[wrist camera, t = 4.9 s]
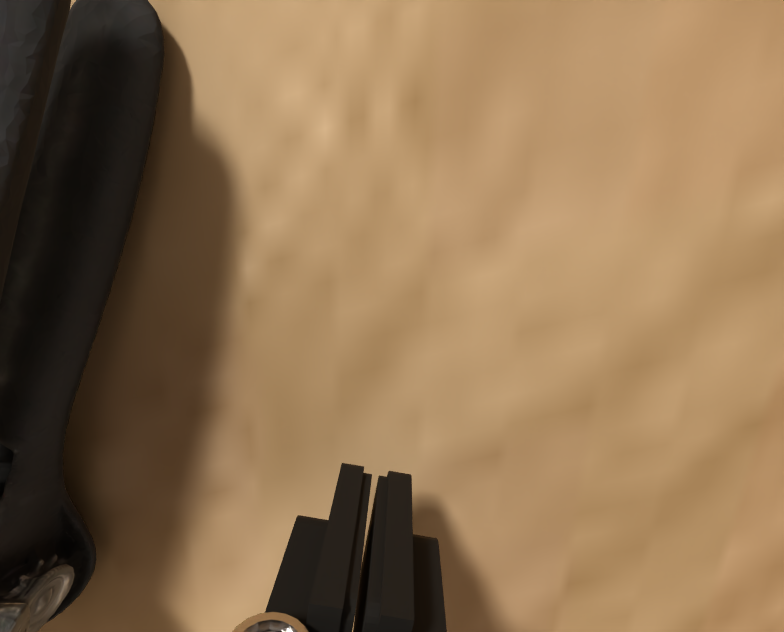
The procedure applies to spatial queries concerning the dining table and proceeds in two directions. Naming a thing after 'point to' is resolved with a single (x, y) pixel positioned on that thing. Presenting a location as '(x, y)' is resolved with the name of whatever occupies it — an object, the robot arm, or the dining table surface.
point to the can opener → (60, 261)
